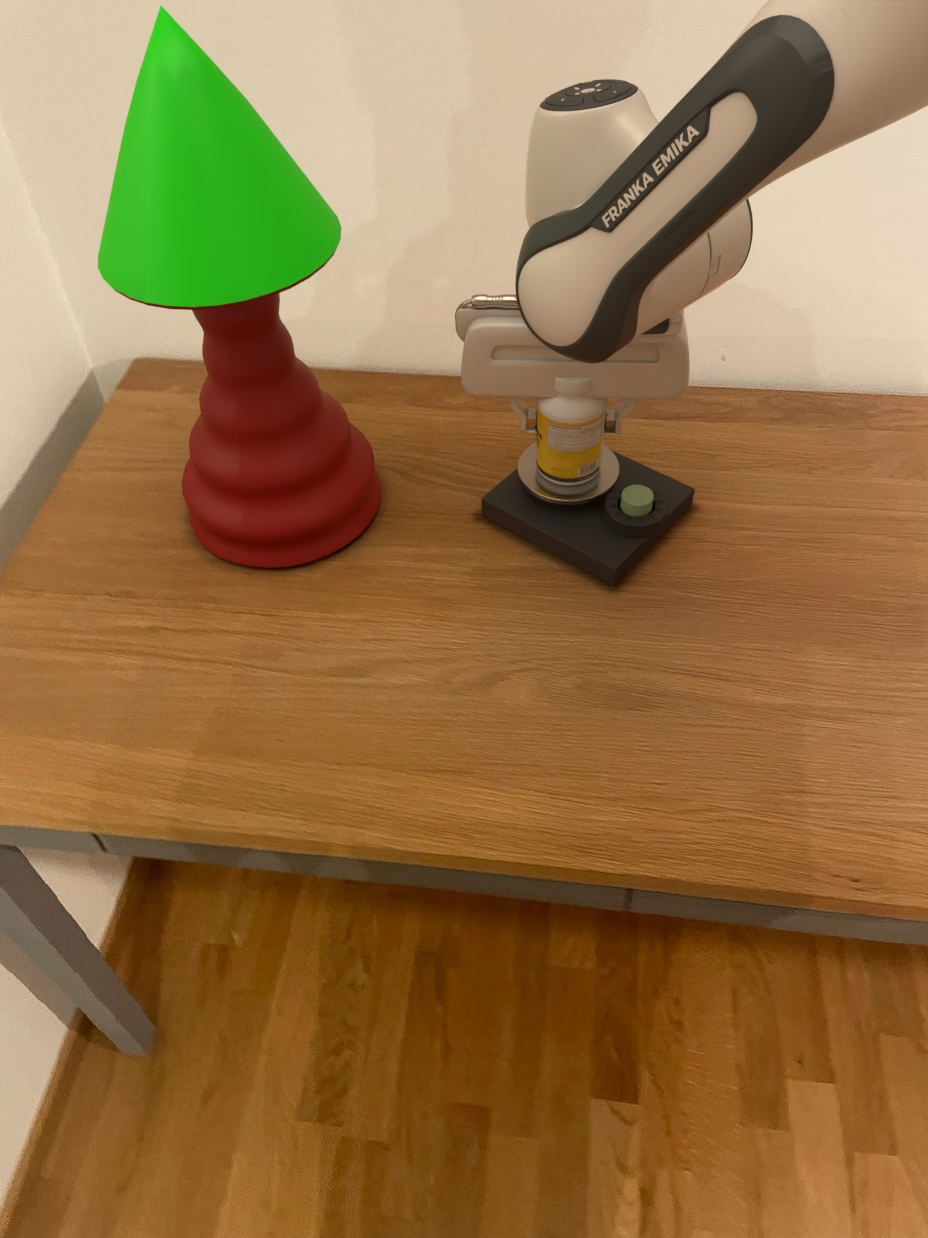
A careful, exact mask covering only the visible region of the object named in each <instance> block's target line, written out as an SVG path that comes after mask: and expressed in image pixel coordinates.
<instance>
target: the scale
mask: <svg viewBox="0 0 928 1238" xmlns="http://www.w3.org/2000/svg"><path fill="white" fill-rule="evenodd" d="M610 450H611V451H612V452H613V453H614V455H615V456H616V458H617V460H618V463H619V477H618V480H617V483H616V484H615V486H614V487H613V489H612V490H611V491H610V492H609V493H607V494H606V495H605V496H603V497H601V498H599V499H597V500H595V501H592V502H589V503H584V504H578V505H561V504H554V503H550V502H547V501H544V500H541V499H539V498H537V497H535V496H534V495H532V494H531V493H529V492H528V491H527V490H526V489H525V488H524V487H523V485H522V484H521V482H520V480H519V477H518V467H516V469H514V470H513V471H512V472H511V473H510V474H508V475H507V476H506V477H505V478H504V479H503V480H501V481H500V482H499V483H497V485H495V486H494V487H492V489H490V490H489V491H488V492H487V493H486V494H485V495H483V496H482V497H481V498H480V502H481V517H483V518H485V519H487V520H489V521H490V522H492V523H494V524H496V525H497V526H500V527H501V528H503V529H505V530H507V531H508V532H510V533H512V534H514V535H516V536H518V537H520V538H522V539H524V540H525V541H527V542H529V543H531V544H533V545H535V546H537V547H538V548H541V549H543V550H544V551H546V552H548V553H550V554H551V555H553V556H555V557H557V558H559V559H560V560H563V561H564V562H566V563H568V564H570V565H572V566H573V567H576V568H577V569H580V570H581V571H583V572H585V573H587V574H589V575H590V576H591V577H595V579H598V580H600V581H602V582H603V583H605V584H607V585H609V586H611V587H615V586H617V584H619V582H620V581H621V580H622V579H623V578H624V577H625V576H626V575H627V574H628V573H629V572H630V571H631V570H632V568H634V567H635V565H636V564H638V562H639V561H641V559H642V558H643V557H645V555H646V554H647V553H648V552H649V551H650V550H651V549H652V548H653V547H654V546H655V545H656V544H657V543H658V542H659V541H660V540H661V539H662V538H663V536H665V535H666V534H667V532H669V530H671V529H672V527H673V526H674V525H675V524H676V523H677V522H678V521H679V520H680V519H681V518H683V516H684V515H685V514H686V513H687V512H688V511H689V510H690V509H691V508H692V506H693V501H694V498H695V497H694V496H695V493H696V492H695V491H696V488H694V487H693V486H690V485H688V484H686V483H684V482H682V481H679V480H677V479H676V478H673V477H671V476H668V475H666V474H665V473H662V472H660V471H657V470H655V469H653V468H651V467H649V466H646V465H645V464H643V463H641V462H638V461H636V460H634V459H632V458H629V457H627V456H626V455H623V454H621V453H618V452H616V451H614V450H612V449H610ZM630 485H643V486H646V487H648V488H649V489H650V490H651V491H652V492H653V495H654V498H653V505H652V510H651V512H650V513H649V514H648V515H646V516H644V517H631V516H628V515H626V514H625V513H624V512H623V511H622V510H621V507H620V504H621V495H622V491H623V490H624V489H625V488H626V487H628V486H630Z"/></svg>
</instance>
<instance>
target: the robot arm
mask: <svg viewBox="0 0 928 1238" xmlns="http://www.w3.org/2000/svg"><path fill="white" fill-rule="evenodd" d="M926 107H928V0H767V1H766V2H765V4H763V6H762V7H761V8H760V9H759V10H758V11H757V13H756V14H755V15H754V16H753V18H752V19H751V20H750V21H749V22H748V24H747V25H746V26H745V27H744V28H743V29H742V31H741V32H740V33H739V35H738V36H737V37H736V38H735V39H734V41H732V43H731V45H729V47H728V48H727V50H726V51H725V52H724V53H723V54H722V55H721V56H720V57H719V58H718V60H717V61H716V62H715V63H714V64H713V65H712V67H711V68H709V69H708V70H707V72H705V74H704V75H703V76H702V77H701V78H700V79H699V80H698V81H697V82H696V83H695V84H694V85H693V86H692V88H690V89H689V90H688V91H687V92H686V94H685V95H684V96H683V97H682V98H681V99H680V100H679V101H678V102H677V103H676V104H675V105H674V106H673V108H672V109H671V110H669V112H668V113H667V114H666V115H665V116H664V117H663V118H662V119H661V121H659V120H658V119H657V118H656V116H655V114H654V113H653V111H652V109H651V106H650V105H649V102H648V100H647V97H646V95H645V94H644V92H643V90H642V89H641V88H640V87H639V86H637V85H636V84H634V83H632V82H629V81H627V80H623V79H616V78H613V79H612V78H605V79H603V78H602V79H593V80H591V81H586V82H585V81H584V82H578V83H575V84H572V85H570V86H567V87H565V88H563V89H560V90H558V91H556V92H554V93H552V94H550V95H549V96H547V97H545V98H544V100H542V101H541V102H540V103H539V104H538V106H537V108H536V110H535V112H534V115H533V118H532V122H531V125H530V129H529V136H528V142H527V151H526V160H525V161H526V163H525V180H524V181H525V182H524V183H525V185H524V213H525V218H526V221H527V225H528V228H529V229H528V230H527V232H526V233H525V235H524V237H523V240H522V243H521V246H520V250H519V252H518V258H517V263H516V268H515V269H516V270H515V283H514V284H515V294H510V293H509V294H508V293H507V294H500V295H497V294H496V295H488V294H485V293H479V294H473V295H471V298H470V299H466V300H464V301H463V302H461V303H459V305H458V306H457V307H456V309H455V313H454V322H455V323H454V324H455V332H456V334H457V336H458V338H459V339H460V340H461V342H463V347H462V357H461V365H460V386H461V389H462V390H464V391H465V392H466V394H467V395H469V397H485V398H487V397H488V398H489V397H492V398H493V397H494V398H501V397H502V398H505V397H506V398H508V405H509V407H510V408H511V410H512V411H513V412H514V414H515V415H516V416H517V418H518V419H519V420H520V432H521V433H536V424H537V407H529V405H528V404H527V402H526V401H525V398H537V397H553V398H555V397H558V396H559V394H560V392H558V391H556V388H555V378H556V377H568V378H591V389H590V391H589V392H586V393H585V394H586V397H587V398H607V399H619V400H620V401H619V402H617V404H616V405H615V407H614V408H607V409H606V421H605V432H604V434H608V435H621V433H622V424H623V421H624V420H625V419H627V418H628V417H629V415H630V414H631V412H633V410H634V409H635V408H636V407H637V400H677V399H679V398H681V396H683V395H684V394H685V393H686V392H687V391H688V389H689V381H690V366H691V365H690V363H691V362H690V348H689V336H688V330H687V329H688V328H687V324H686V322H687V321H686V318H685V309H686V308H688V307H690V305H692V304H694V303H695V302H698V301H699V300H701V299H703V298H704V297H706V296H707V295H709V294H711V293H712V292H714V291H715V290H717V289H718V288H721V286H722V285H724V284H725V283H727V282H728V281H730V280H732V279H733V278H734V277H735V276H737V275H738V274H739V273H740V272H741V270H742V269H743V267H744V265H746V262H747V260H748V258H749V254H750V251H751V247H752V243H753V236H754V219H753V213H752V211H753V210H752V207H751V203H750V200H749V198H750V197H752V196H753V195H754V194H756V193H758V192H759V191H761V190H762V189H764V188H765V187H767V186H769V185H771V184H772V183H774V182H775V181H777V180H778V179H780V178H782V177H784V176H786V175H787V174H790V173H791V172H793V171H795V170H797V169H799V168H801V167H802V166H804V165H807V164H809V163H810V162H813V161H815V160H817V159H819V158H821V157H823V156H825V155H827V154H830V153H831V152H834V151H836V150H838V149H840V148H842V147H845V146H846V145H848V144H851V143H853V142H855V141H858V140H859V139H862V138H864V137H866V136H869V135H870V134H873V133H875V132H877V131H879V130H882V129H883V128H885V127H888V126H890V125H892V124H894V123H896V122H899V121H900V120H902V119H905V118H906V117H908V116H911V115H912V114H914V113H917V112H918V111H921V110H923V109H924V108H926Z"/></svg>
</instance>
